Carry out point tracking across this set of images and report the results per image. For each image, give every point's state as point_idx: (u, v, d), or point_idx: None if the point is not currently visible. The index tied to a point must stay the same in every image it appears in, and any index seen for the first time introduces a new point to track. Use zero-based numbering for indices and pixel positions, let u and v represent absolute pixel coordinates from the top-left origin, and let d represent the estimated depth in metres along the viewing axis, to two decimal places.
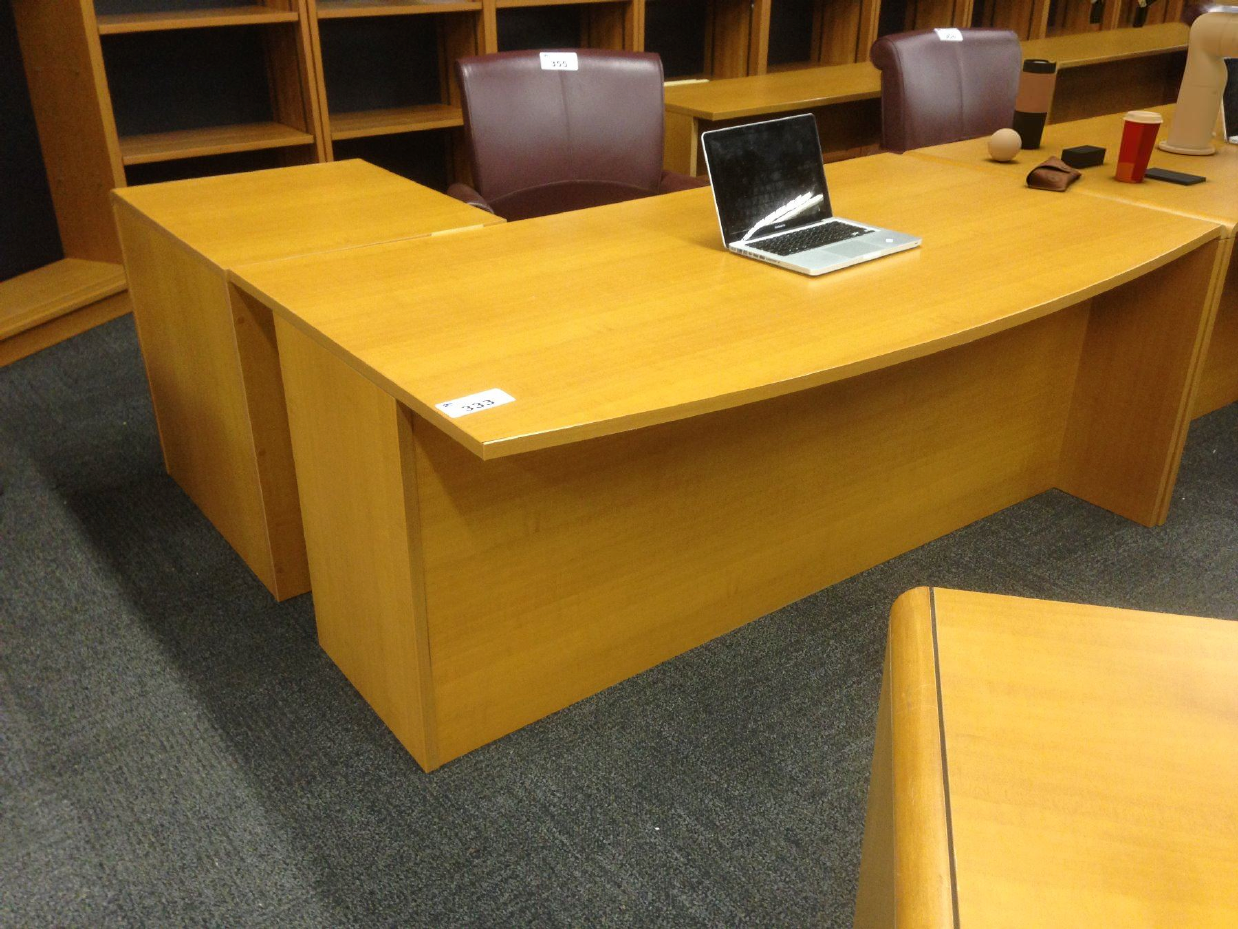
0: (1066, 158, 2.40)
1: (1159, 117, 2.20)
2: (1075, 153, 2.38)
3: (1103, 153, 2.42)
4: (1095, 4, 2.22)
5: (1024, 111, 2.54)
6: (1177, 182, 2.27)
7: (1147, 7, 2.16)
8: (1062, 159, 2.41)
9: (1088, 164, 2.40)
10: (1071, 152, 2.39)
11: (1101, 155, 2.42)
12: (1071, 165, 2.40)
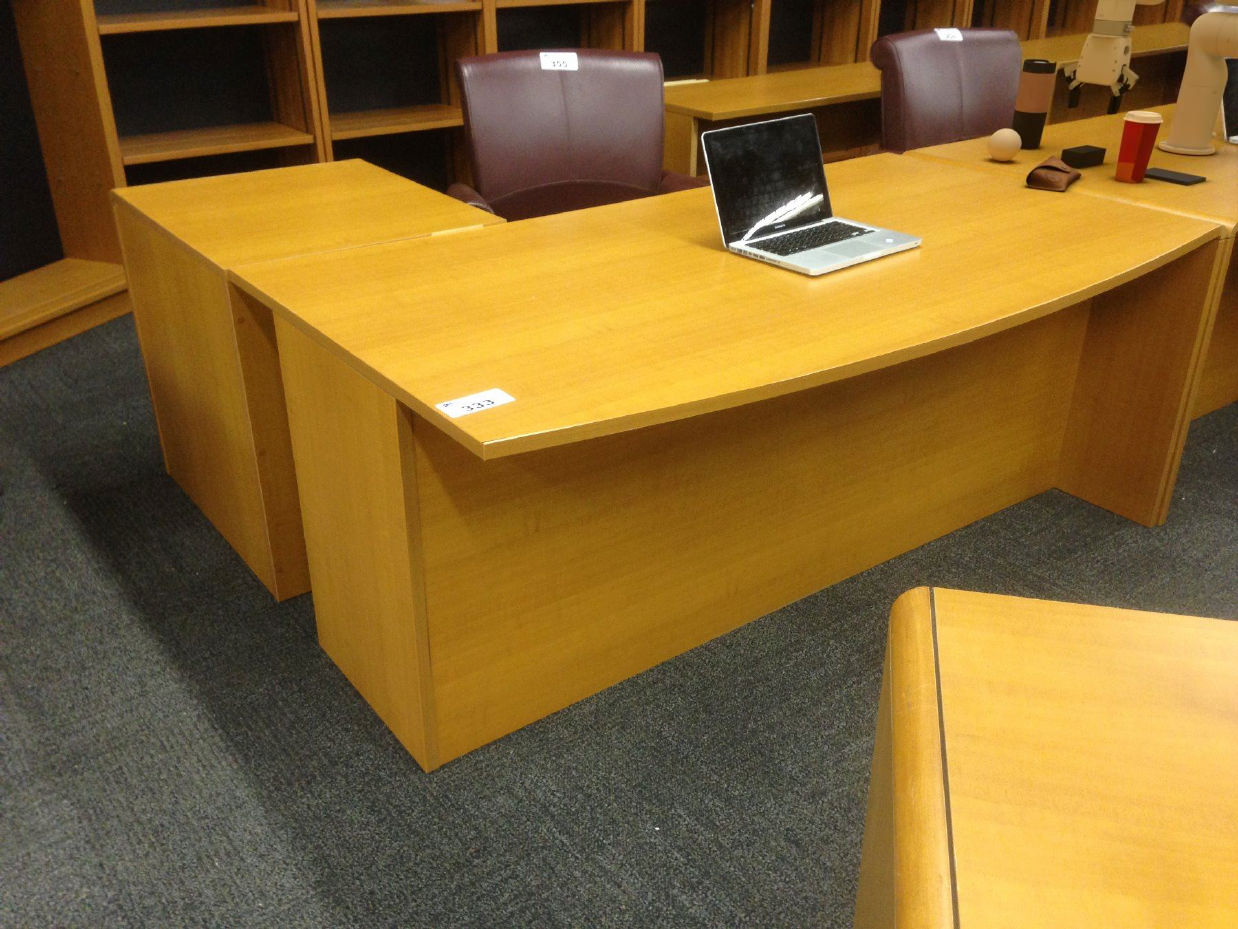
0: (1066, 158, 2.40)
1: (1159, 117, 2.20)
2: (1075, 153, 2.38)
3: (1103, 153, 2.42)
4: (1073, 91, 2.38)
5: (1024, 111, 2.54)
6: (1177, 182, 2.27)
7: (1120, 96, 2.31)
8: (1062, 159, 2.41)
9: (1088, 164, 2.40)
10: (1071, 152, 2.39)
11: (1101, 155, 2.42)
12: (1071, 165, 2.40)
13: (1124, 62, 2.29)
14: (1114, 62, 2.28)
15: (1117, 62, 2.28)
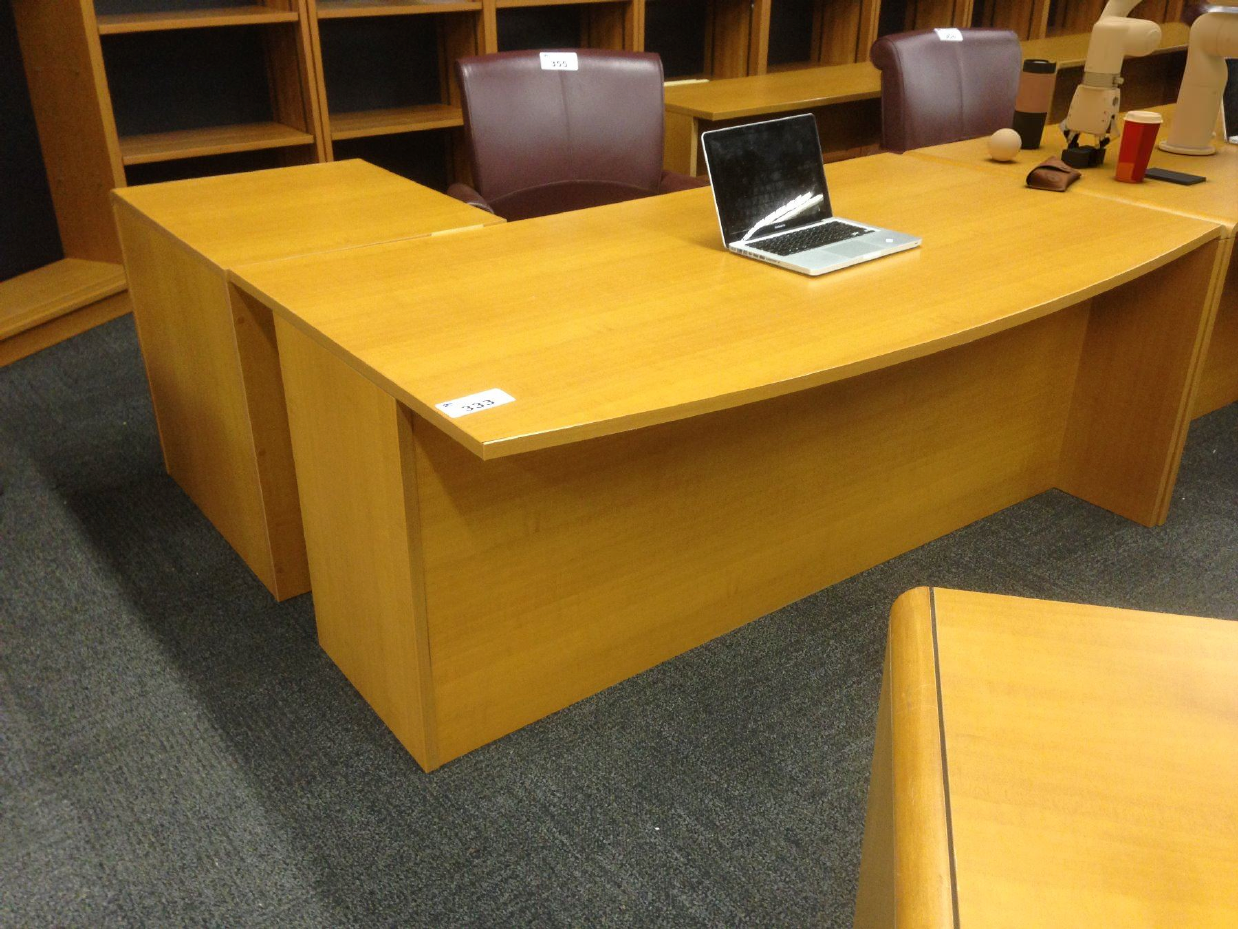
0: (1066, 158, 2.40)
1: (1159, 117, 2.20)
2: (1075, 153, 2.38)
3: (1103, 153, 2.42)
4: (1070, 145, 2.42)
5: (1024, 111, 2.54)
6: (1177, 182, 2.27)
7: (1101, 148, 2.38)
8: (1062, 159, 2.41)
9: None
10: (1071, 152, 2.39)
11: (1101, 155, 2.42)
12: (1071, 165, 2.40)
13: (1113, 113, 2.34)
14: (1103, 113, 2.34)
15: (1106, 113, 2.33)
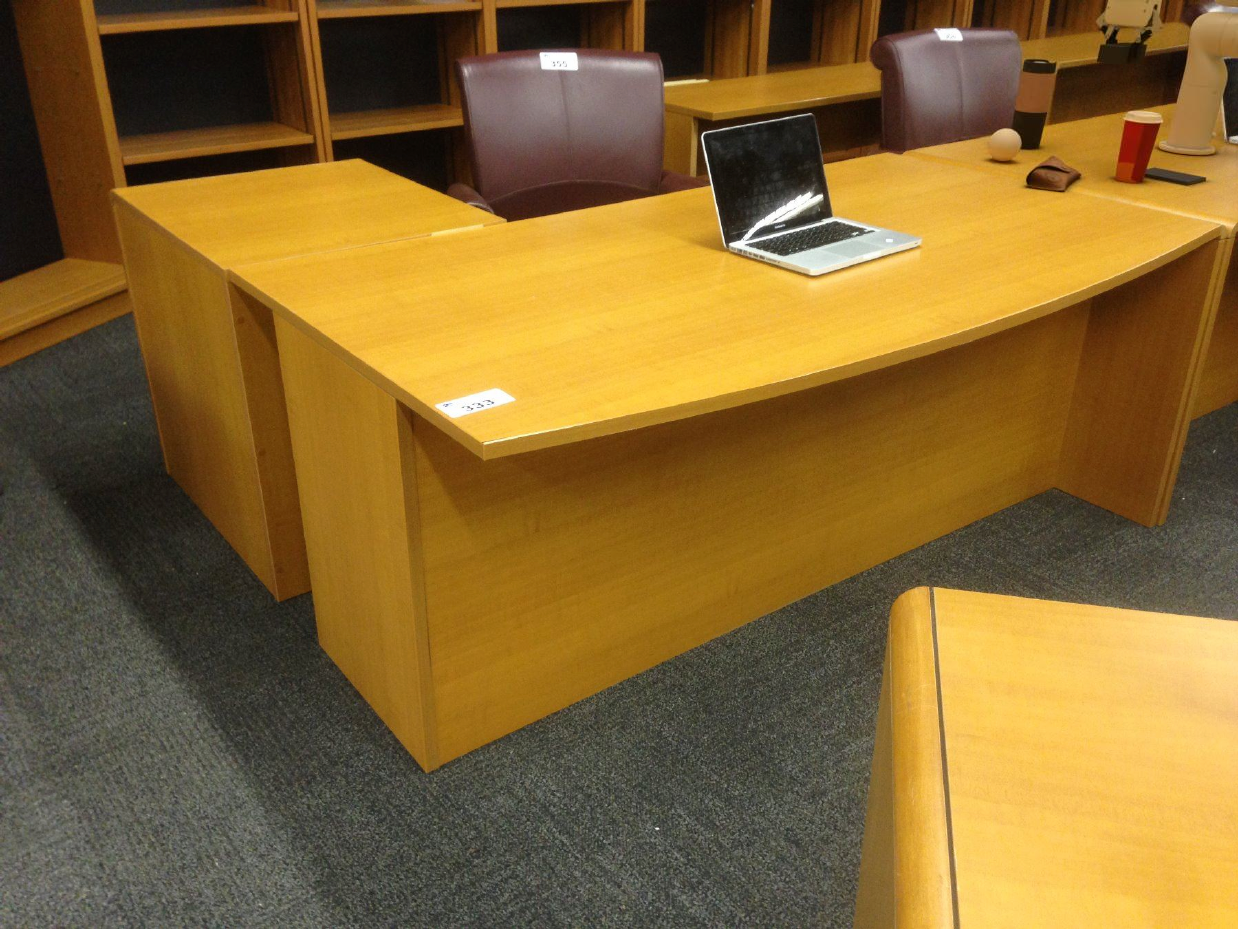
0: (1104, 53, 2.25)
1: (1159, 117, 2.20)
2: (1114, 47, 2.23)
3: (1144, 50, 2.27)
4: (1109, 41, 2.27)
5: (1024, 111, 2.54)
6: (1177, 182, 2.27)
7: (1142, 43, 2.23)
8: (1100, 55, 2.26)
9: None
10: (1109, 47, 2.24)
11: None
12: (1110, 61, 2.25)
13: (1156, 2, 2.19)
14: (1145, 2, 2.18)
15: (1148, 2, 2.18)
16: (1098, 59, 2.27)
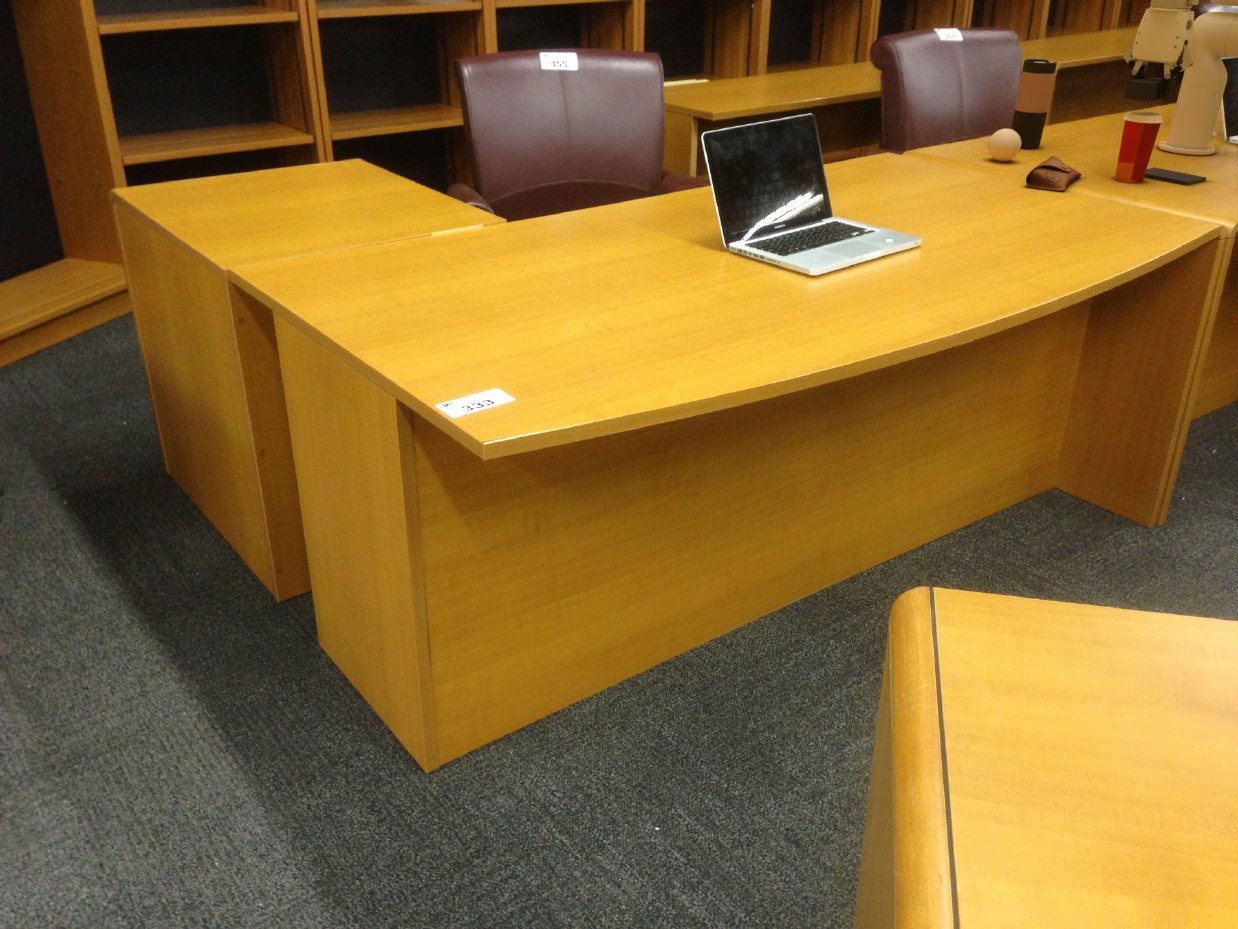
0: (1132, 89, 2.18)
1: (1159, 117, 2.20)
2: (1143, 84, 2.16)
3: (1172, 86, 2.21)
4: (1136, 76, 2.20)
5: (1024, 111, 2.54)
6: (1177, 182, 2.27)
7: (1171, 79, 2.17)
8: (1127, 91, 2.19)
9: (1156, 97, 2.18)
10: (1138, 83, 2.17)
11: None
12: (1138, 97, 2.18)
13: (1186, 38, 2.12)
14: (1175, 38, 2.12)
15: (1179, 38, 2.11)
16: (1126, 95, 2.20)
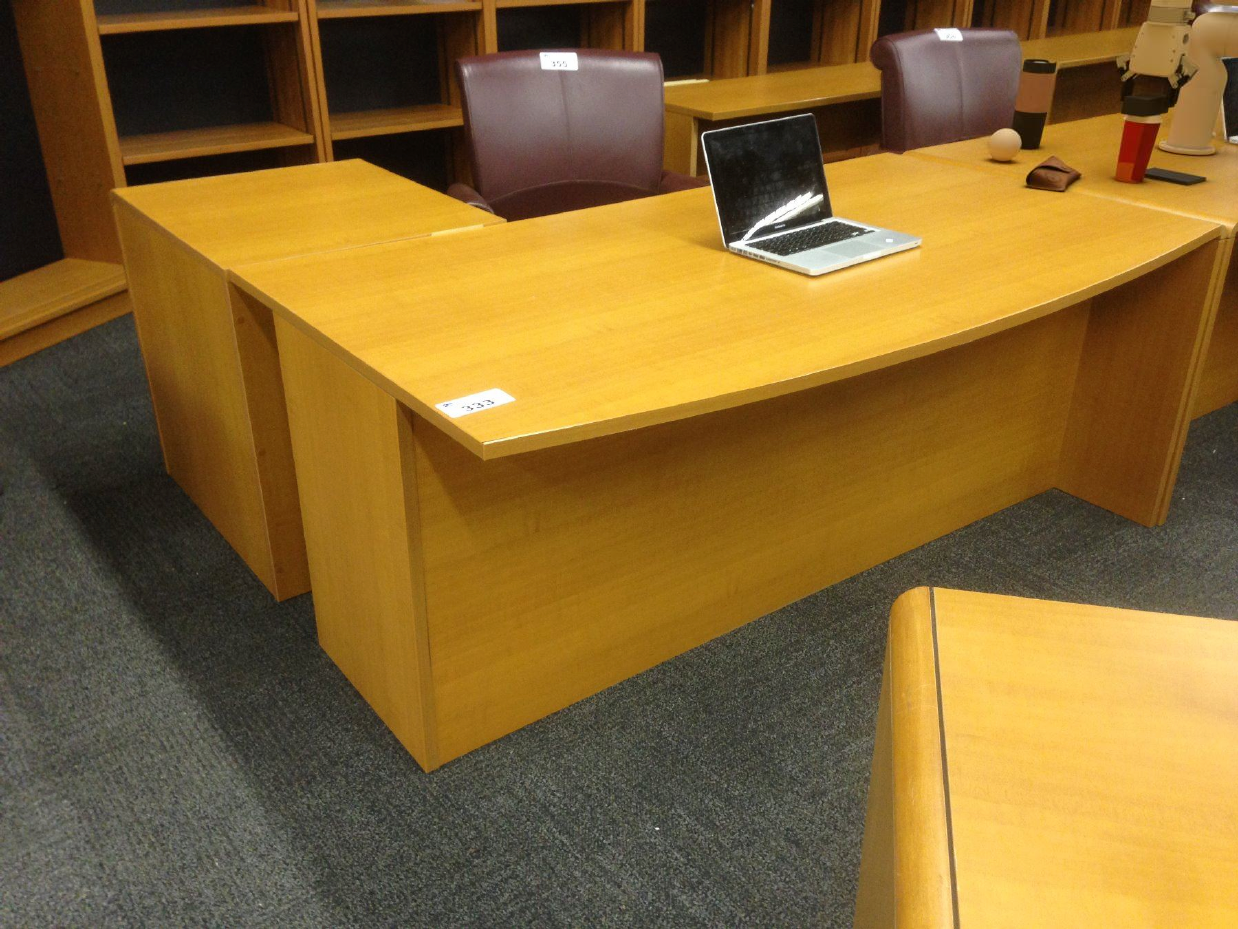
0: (1128, 106, 2.20)
1: (1159, 117, 2.20)
2: (1139, 100, 2.18)
3: None
4: (1126, 83, 2.23)
5: (1024, 111, 2.54)
6: (1177, 182, 2.27)
7: (1179, 88, 2.16)
8: (1124, 107, 2.21)
9: (1152, 113, 2.20)
10: (1134, 99, 2.19)
11: None
12: (1134, 113, 2.19)
13: (1183, 51, 2.13)
14: (1172, 52, 2.13)
15: (1175, 52, 2.13)
16: (1122, 111, 2.21)
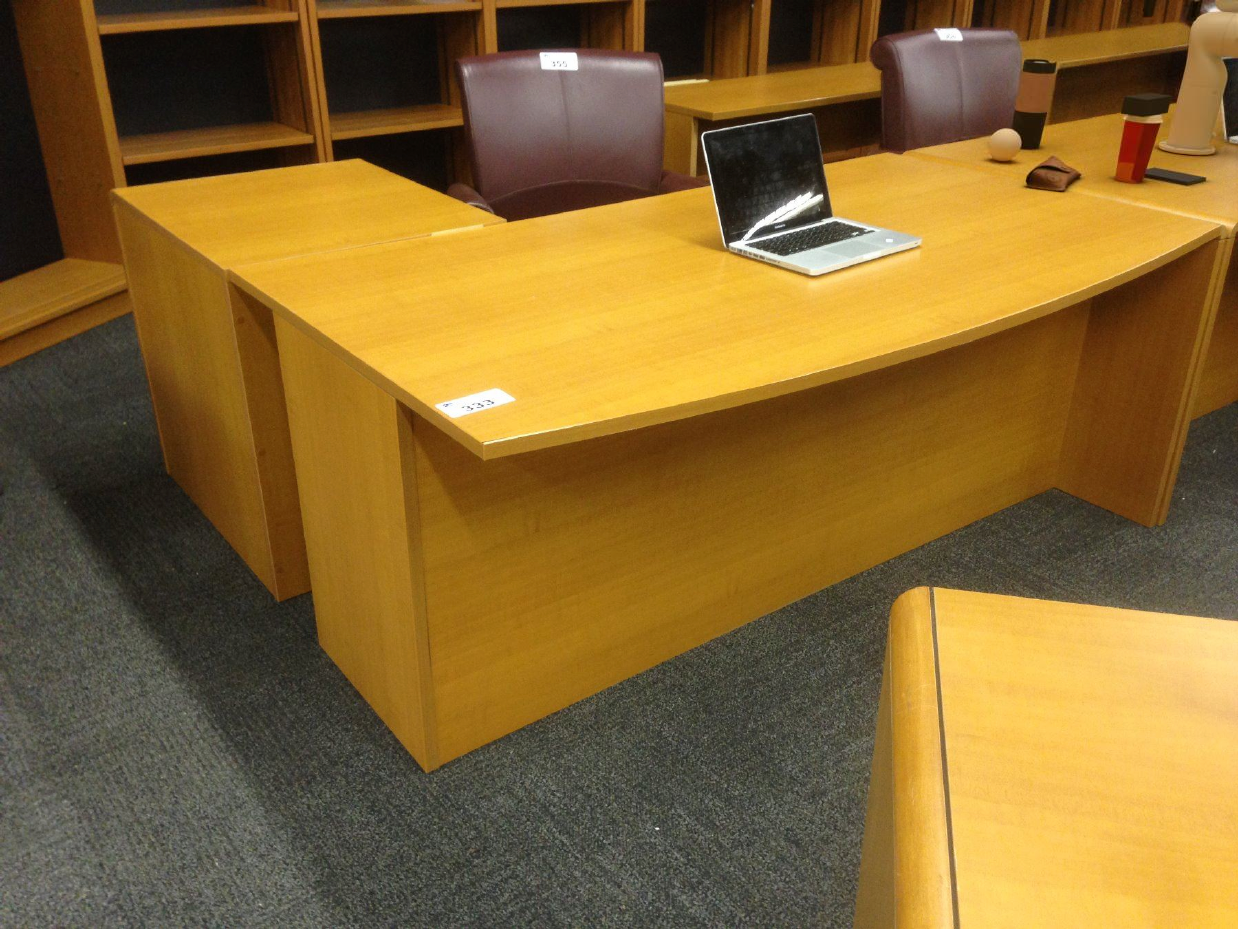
0: (1128, 106, 2.20)
1: (1159, 117, 2.20)
2: (1139, 100, 2.18)
3: (1168, 101, 2.22)
4: None
5: (1024, 111, 2.54)
6: (1177, 182, 2.27)
7: (1201, 1, 2.22)
8: (1124, 107, 2.21)
9: (1152, 113, 2.20)
10: (1134, 99, 2.19)
11: (1166, 103, 2.22)
12: (1134, 113, 2.19)
13: None
14: None
15: None
16: (1122, 111, 2.21)
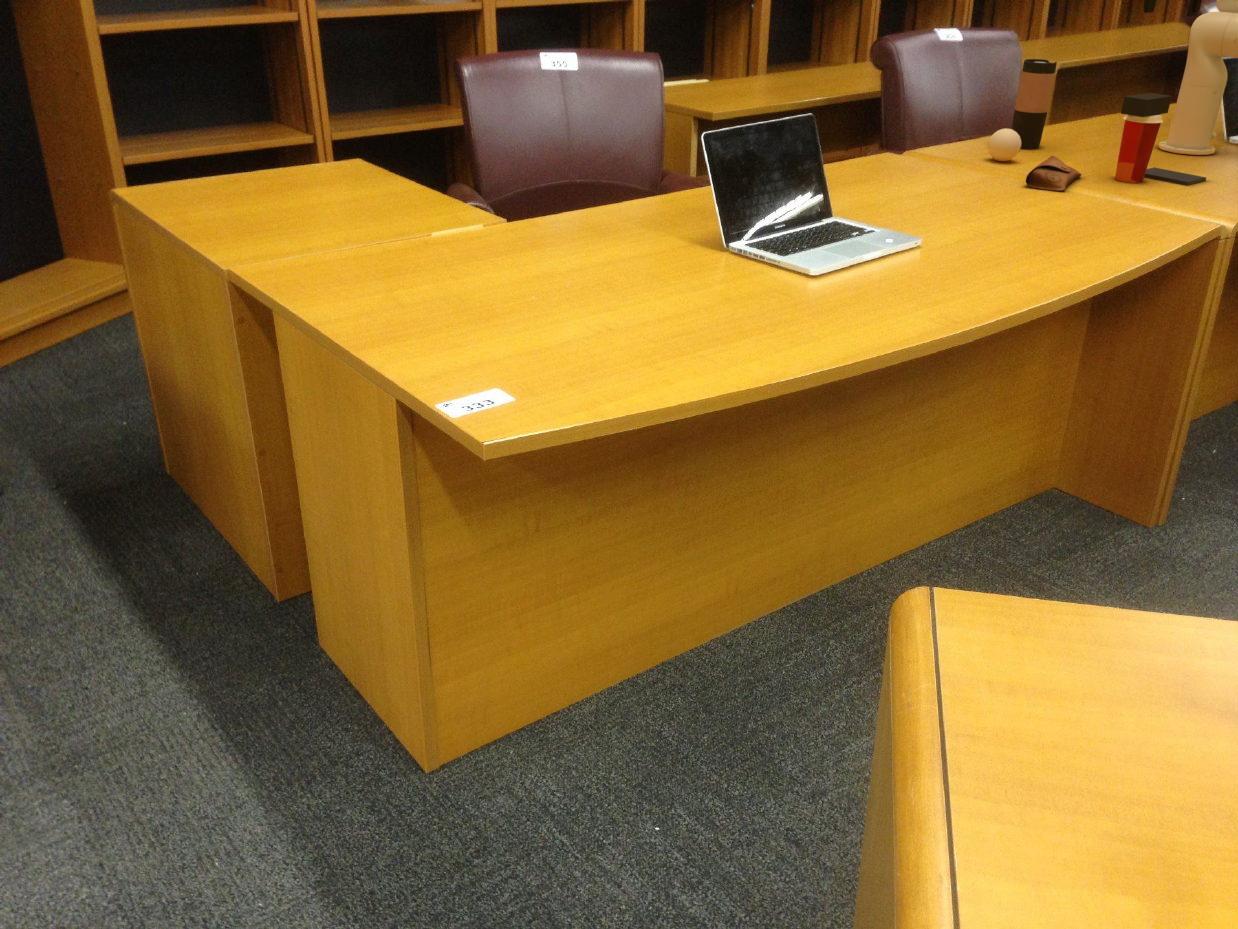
0: (1128, 105, 2.20)
1: (1159, 117, 2.20)
2: (1139, 100, 2.18)
3: (1168, 101, 2.22)
4: None
5: (1024, 111, 2.54)
6: (1177, 182, 2.27)
7: None
8: (1124, 107, 2.21)
9: (1153, 113, 2.20)
10: (1134, 99, 2.19)
11: (1166, 103, 2.22)
12: (1134, 113, 2.19)
13: None
14: None
15: None
16: (1122, 111, 2.21)
